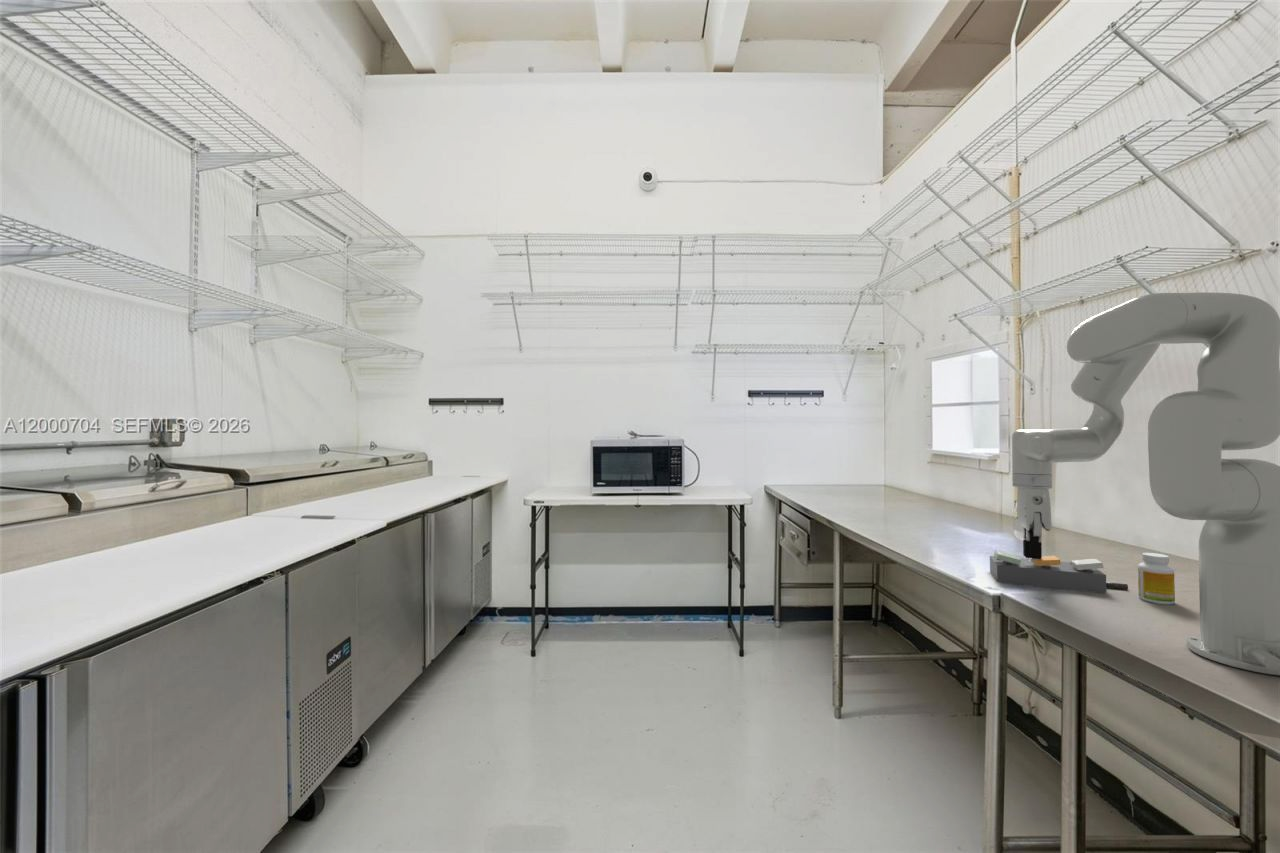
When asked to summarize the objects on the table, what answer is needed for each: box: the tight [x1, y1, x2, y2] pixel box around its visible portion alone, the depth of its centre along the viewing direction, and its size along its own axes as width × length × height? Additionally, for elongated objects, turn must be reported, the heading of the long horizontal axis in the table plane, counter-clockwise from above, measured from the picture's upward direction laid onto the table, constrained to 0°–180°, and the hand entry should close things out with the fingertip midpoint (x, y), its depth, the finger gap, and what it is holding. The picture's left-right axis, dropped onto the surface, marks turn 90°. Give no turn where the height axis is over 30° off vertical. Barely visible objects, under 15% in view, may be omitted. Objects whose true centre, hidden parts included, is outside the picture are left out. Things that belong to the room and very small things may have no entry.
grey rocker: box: [1070, 558, 1104, 570], centre depth 115 cm, size 4×5×1 cm
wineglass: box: [1013, 517, 1030, 559], centre depth 137 cm, size 6×6×12 cm
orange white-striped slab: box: [1031, 555, 1062, 566], centre depth 119 cm, size 4×5×1 cm
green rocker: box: [993, 550, 1021, 565], centre depth 122 cm, size 4×5×1 cm
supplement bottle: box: [1137, 552, 1176, 605], centre depth 106 cm, size 5×5×10 cm
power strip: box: [989, 555, 1129, 594], centre depth 119 cm, size 10×25×4 cm, turn 63°
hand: (1032, 557), depth 120 cm, fingers closed
